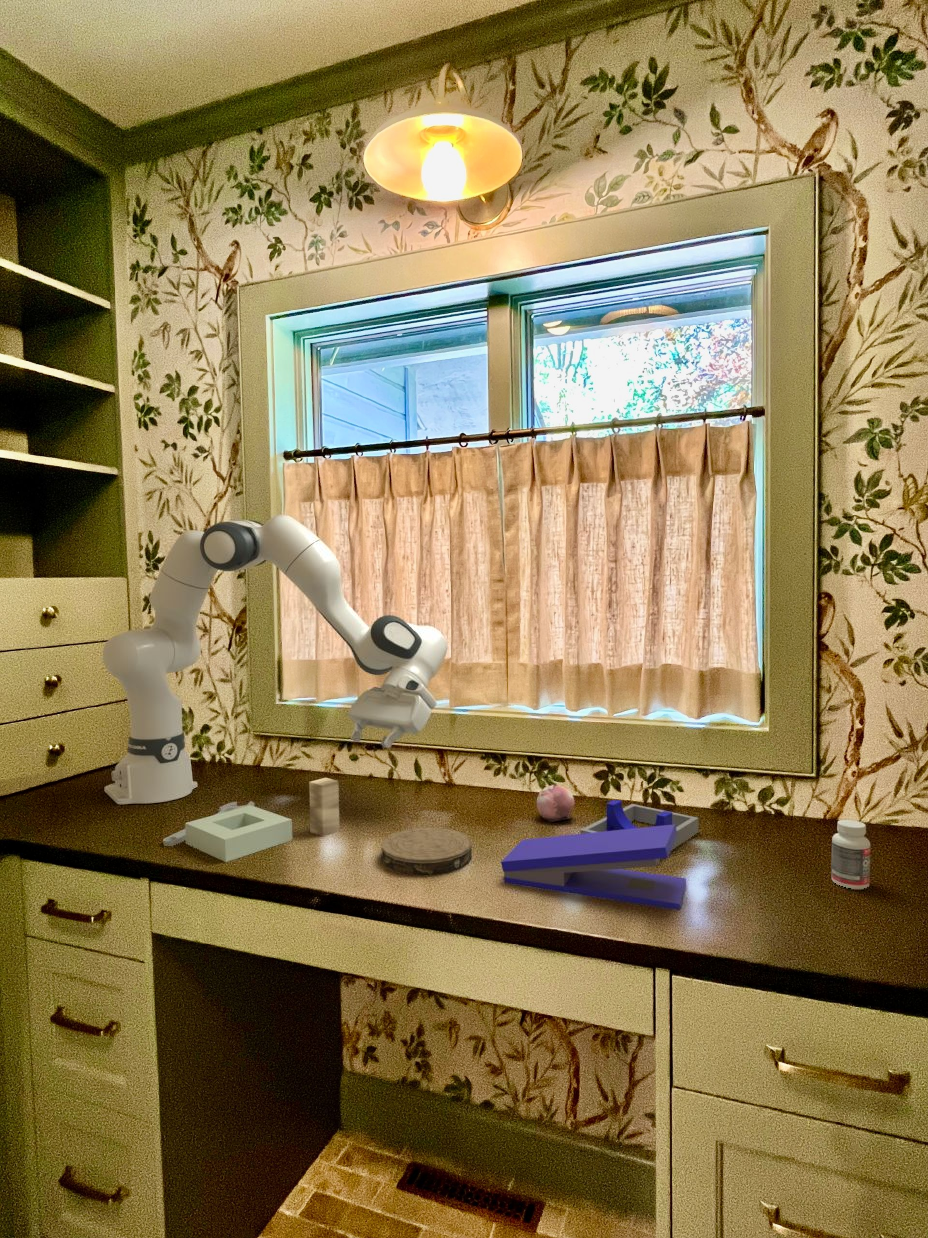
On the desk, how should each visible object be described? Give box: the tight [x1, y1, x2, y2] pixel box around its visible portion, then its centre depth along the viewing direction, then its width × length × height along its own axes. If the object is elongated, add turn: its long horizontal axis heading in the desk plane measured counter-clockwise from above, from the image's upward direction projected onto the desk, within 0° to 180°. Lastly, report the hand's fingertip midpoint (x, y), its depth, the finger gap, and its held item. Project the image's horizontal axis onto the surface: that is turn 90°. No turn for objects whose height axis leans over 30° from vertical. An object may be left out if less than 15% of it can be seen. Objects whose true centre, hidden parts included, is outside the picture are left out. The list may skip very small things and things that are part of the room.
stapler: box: [500, 824, 687, 911], centre depth 116 cm, size 12×28×10 cm, turn 68°
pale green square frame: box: [184, 805, 293, 863], centre depth 136 cm, size 14×14×4 cm
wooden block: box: [308, 777, 340, 837], centre depth 142 cm, size 4×4×10 cm
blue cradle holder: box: [606, 799, 673, 831], centre depth 135 cm, size 12×4×6 cm, turn 47°
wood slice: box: [381, 827, 473, 877], centre depth 128 cm, size 16×16×3 cm
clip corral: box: [579, 803, 699, 852], centre depth 135 cm, size 14×20×3 cm
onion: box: [536, 784, 575, 823], centre depth 148 cm, size 8×8×7 cm
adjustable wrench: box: [162, 800, 256, 847], centre depth 147 cm, size 25×6×2 cm, turn 157°
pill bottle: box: [831, 819, 871, 890], centre depth 115 cm, size 5×5×10 cm
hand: (368, 743), depth 150 cm, fingers open, 8 cm apart
